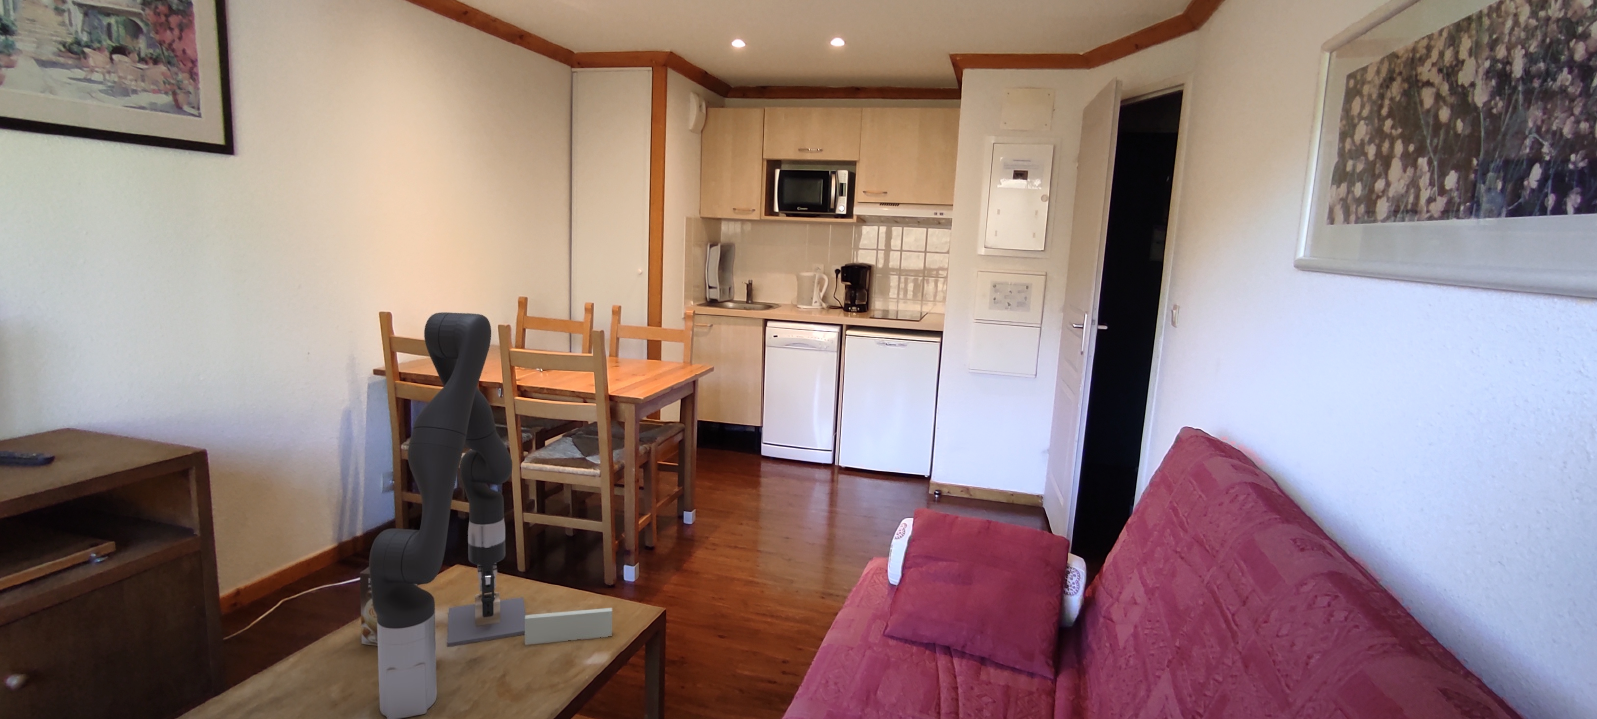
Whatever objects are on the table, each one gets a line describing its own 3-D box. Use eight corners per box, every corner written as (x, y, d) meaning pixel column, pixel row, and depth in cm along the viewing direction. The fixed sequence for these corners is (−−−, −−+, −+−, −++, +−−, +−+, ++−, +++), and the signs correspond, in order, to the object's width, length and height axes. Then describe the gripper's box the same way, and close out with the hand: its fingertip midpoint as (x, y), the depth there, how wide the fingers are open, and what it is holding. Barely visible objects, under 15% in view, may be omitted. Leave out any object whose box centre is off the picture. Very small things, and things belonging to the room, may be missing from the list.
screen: (611, 636, 158) (612, 610, 157) (524, 644, 153) (524, 618, 152) (611, 632, 160) (612, 607, 159) (525, 641, 154) (525, 615, 153)
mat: (528, 633, 157) (528, 630, 157) (447, 646, 151) (447, 643, 150) (523, 600, 172) (523, 596, 172) (448, 610, 165) (448, 607, 165)
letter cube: (500, 622, 160) (500, 600, 159) (475, 625, 158) (475, 604, 157) (499, 611, 164) (499, 590, 163) (475, 615, 162) (475, 594, 161)
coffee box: (359, 644, 150) (357, 572, 147) (380, 629, 156) (378, 559, 153) (401, 649, 149) (399, 576, 146) (420, 633, 155) (418, 563, 153)
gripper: (468, 528, 163) (468, 595, 165) (468, 553, 150) (469, 625, 153) (503, 524, 166) (504, 590, 169) (506, 548, 153) (507, 619, 156)
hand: (487, 606), depth 161 cm, fingers open, 8 cm apart
